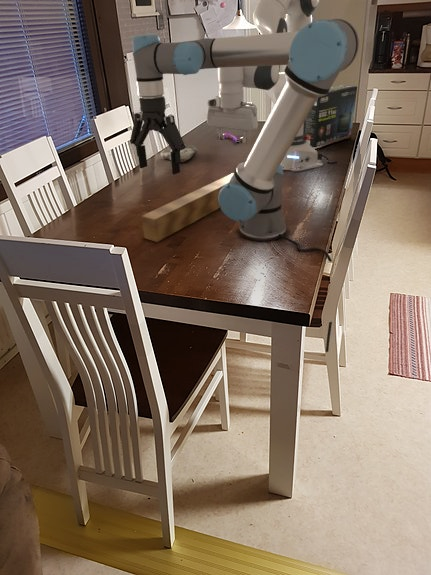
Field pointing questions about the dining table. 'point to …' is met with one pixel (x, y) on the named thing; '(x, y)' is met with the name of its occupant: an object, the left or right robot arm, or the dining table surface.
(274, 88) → the right robot arm
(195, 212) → the post
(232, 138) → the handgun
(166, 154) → the fossil
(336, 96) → the router box
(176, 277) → the dining table surface
